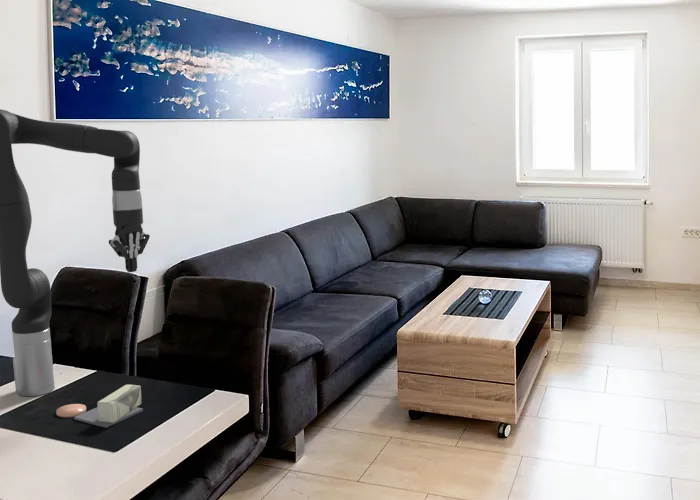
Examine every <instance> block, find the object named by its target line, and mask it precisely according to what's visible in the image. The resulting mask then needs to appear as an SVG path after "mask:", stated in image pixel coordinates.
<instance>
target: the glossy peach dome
mask: <svg viewBox="0 0 700 500" xmlns="http://www.w3.org/2000/svg"><path fill="white" fill-rule="evenodd" d="M55 412H56V414H55V415H56V416H57V417H59V418H74V417H75V416H78V415H80V414H83V413H85V412H87V406H86V405H85V404H83V403H70V404H65V405H63V406H60V407H58V408H56V410H55Z"/></svg>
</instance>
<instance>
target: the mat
mask: <svg viewBox="0 0 700 500" xmlns="http://www.w3.org/2000/svg"><path fill="white" fill-rule="evenodd" d="M143 411H144V408H142V407H138V406H137V407H136V408H134V409H133V410H131V411H130V412H129V413H127V414H126V415H124V416H123V417H121V418H120V419H118V420H117V421H115V422H114V423H108V422H99V421H98V408H97V407H95V408H92V409H90V410H88V411H87V410H86V412H85V413H83V414H80V415H78V416H75V417H73V419H74V421H78V422H83V423H86V424H90V425H93V426H97V427H102V428H105V429H107V428H109V427H111V426H113V425H115V424H118V423H119V422H122V421H124V420H126V419H128V418H130V417H133V416H135V415H137V414H139V413H142V412H143Z"/></svg>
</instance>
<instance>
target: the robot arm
mask: <svg viewBox="0 0 700 500" xmlns="http://www.w3.org/2000/svg"><path fill="white" fill-rule="evenodd" d="M16 144H17V145H20V144H21V145H23V144H24V145H26V144H27V145H28V144H31V145H41V146H46V147H50V148H54V149H60V150H64V151H68V152H69V151H70V152H75V153H76V152H77V153H83V154H96V155H100V156H104V157H110V158H113V169H112V172H111V187H112V188H111V189H112V194H111V195H112V196H111V205H112V206H111V207H112V216H113V217H112V219H113V224H114V225H113V226H114V227H115V231H114V236H113V238H112V239H109V240H108V244H109V246H110V247H111V248H112V249H113V251H114V252H115V254H117V256H118V258H119V257H122V258H124V262H125V263H124V265H125V270H126V271H127V272H128V273H134V272H136V271H137V269H138V257H139V255H142V254H143V252H144V250H145V248H146V246H147V244H148V242H149V239H150V234H148V233H147V234H146V233H145V232H144V229H143V227H142V225H143V224H144V217H143V216H144V215H143V198H142V194H141V193H142V192H141V181H140V159H141V158H140V157H141V149H140V148H141V146H140V141H139V138H138V136H137V135H136V134H135V133H134V132H132V131H129V130H114V129H105V128H99V127H95V126H92V125H84V124H78V123H77V124H76V123H71V122H70V123H68V122H55V121H46V120H45V121H44V120H39V119H34V118H30V117H25V116H24V115H23V116H22V115H19V114H16V113H12V112H10V111H8V110H5V109H1V108H0V285H1V286H0V287H1V294H2V297H3V299H4V300H5V301H6V303H7V304H8V305H9V306H10V307H11V308H14V309H18V312H17V314H16V316H15V317H14V318H13V319H12V321H11V330H12V331H11V334H12V342H13V343H12V344H13V345H12V346H13V354H14V355H13V358H12V363H13V374H14V385H15V392H17V394H18V395H19V396H23V397H36V396H37V397H38V396H42V395H46V394H49V393H51V392H53V391H54V389H56V388H55V379H54V377H55V376H54V366H53V365H54V363H53V354H52V351H53V350H52V338H51V329H50V320H51V317H52V290H51V283H50V280H49V278H48V276H47V274H46V273H45V272H44V270H41V269H39V268H31V267H30V268H28V261H27V246H28V240H29V237H30V233H31V227H32V221H33V220H32V210H31V205H30V199H29V195H28V191H27V189H26V187H25V185H24V182H23V180H22V179H21V175H20V174H19V172H18V170H17V167H16V164H15V161H14V156H13V148H12V147H13V146H12V145H16Z"/></svg>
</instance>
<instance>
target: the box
mask: <svg viewBox="0 0 700 500" xmlns="http://www.w3.org/2000/svg"><path fill="white" fill-rule="evenodd" d="M141 387H142V386H141V385H136V384H125V385H123V386H122V387H120V388H119V389H117V390H115V391H114V392H112V393H110V394H109V395H107V396H106V397H104V398H101V399H100V400H99V401H97V403H96V404H97V406H96V408H98V421H99V422H108V423H114V422H115V421H117V420H118V419H120V418H121V417H123V416H124V415H126V414H127V413H129V412H130V411H131V410H133V409H134V408H136V407H138V406H140V405H142V390H141Z"/></svg>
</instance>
